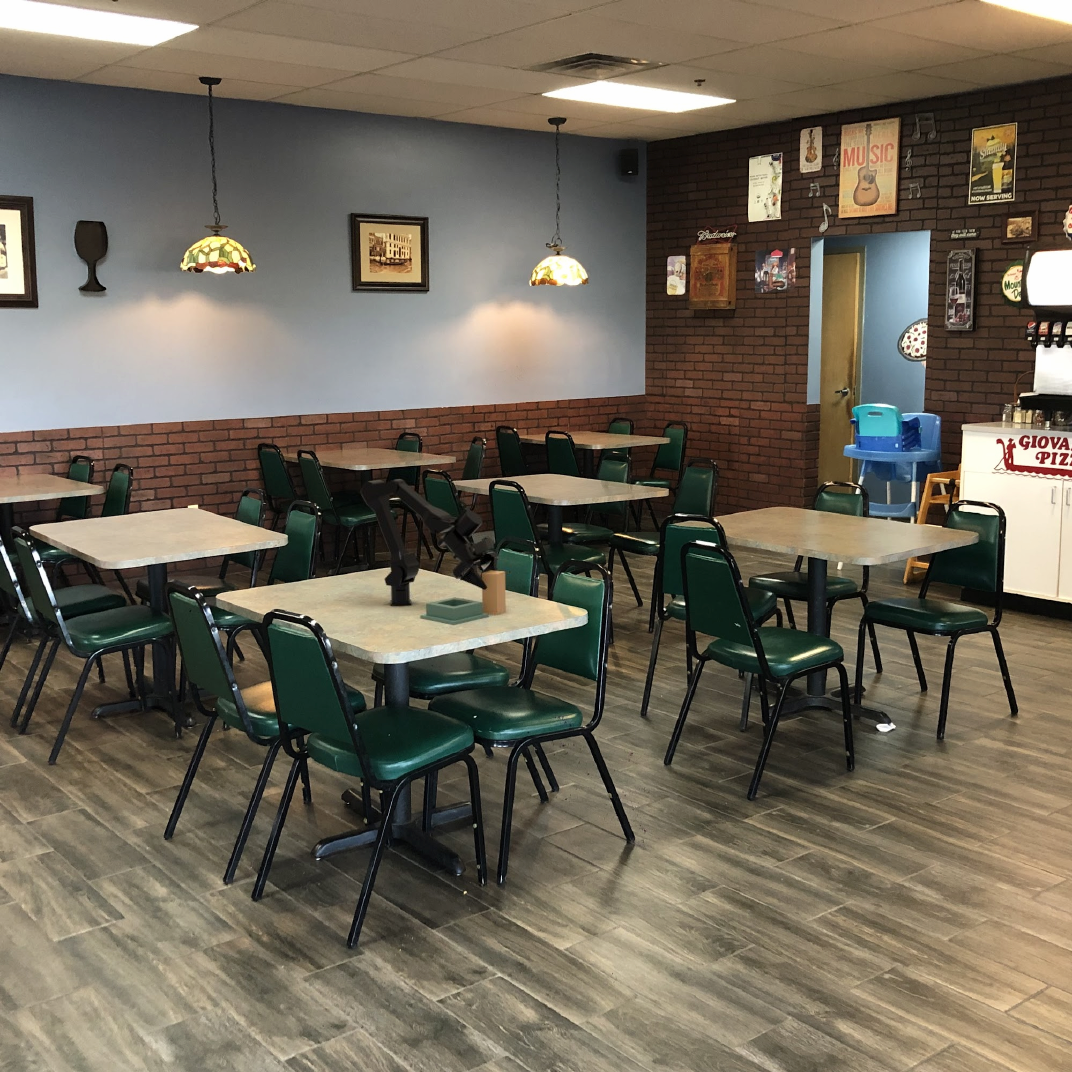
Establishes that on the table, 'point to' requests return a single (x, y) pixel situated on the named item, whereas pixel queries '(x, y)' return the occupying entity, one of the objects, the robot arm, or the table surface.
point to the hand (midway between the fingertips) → (493, 586)
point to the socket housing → (454, 611)
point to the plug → (494, 592)
